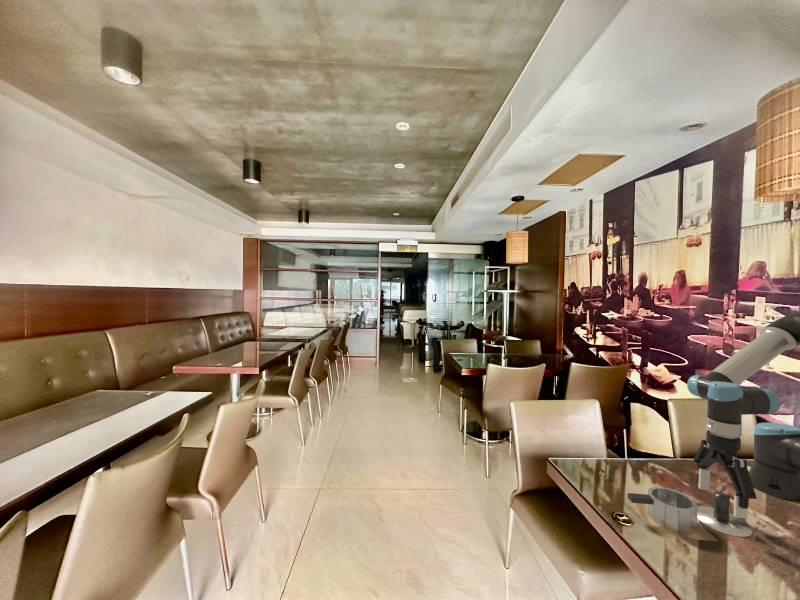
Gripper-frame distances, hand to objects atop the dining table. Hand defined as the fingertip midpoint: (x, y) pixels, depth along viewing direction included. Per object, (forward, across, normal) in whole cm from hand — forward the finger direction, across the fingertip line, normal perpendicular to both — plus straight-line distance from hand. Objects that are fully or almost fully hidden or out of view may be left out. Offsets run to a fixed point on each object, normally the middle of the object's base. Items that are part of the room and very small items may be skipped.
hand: (720, 502), depth 101 cm
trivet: (+7, +2, -15) cm, 16 cm away
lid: (+7, 0, 0) cm, 7 cm away
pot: (+6, +2, -18) cm, 19 cm away
